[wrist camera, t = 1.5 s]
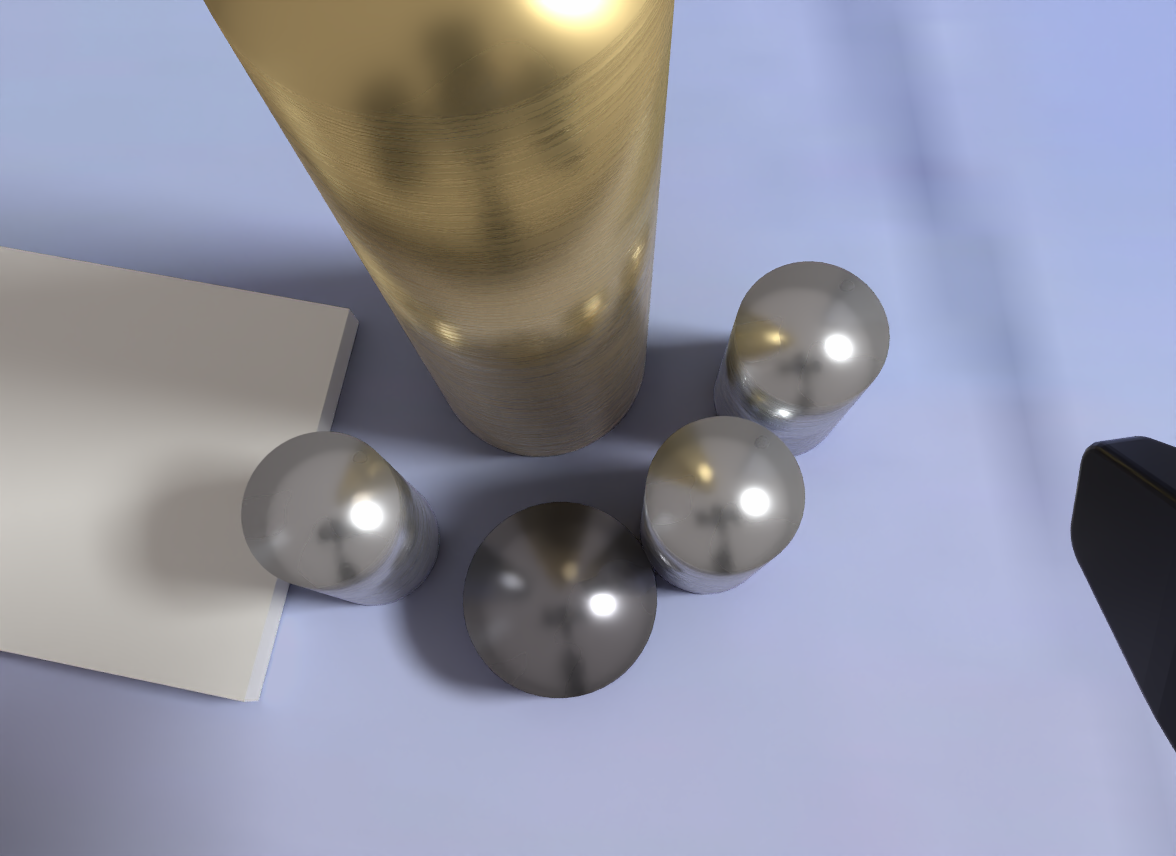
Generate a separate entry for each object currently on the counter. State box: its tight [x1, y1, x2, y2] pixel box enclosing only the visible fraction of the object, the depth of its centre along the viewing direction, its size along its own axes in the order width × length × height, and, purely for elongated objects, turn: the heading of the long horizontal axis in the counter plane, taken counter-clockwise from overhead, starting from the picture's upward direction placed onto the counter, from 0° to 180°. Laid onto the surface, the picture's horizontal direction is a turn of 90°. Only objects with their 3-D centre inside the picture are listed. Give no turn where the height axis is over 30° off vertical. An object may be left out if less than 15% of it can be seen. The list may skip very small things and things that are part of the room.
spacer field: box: [241, 261, 890, 698], centre depth 19 cm, size 8×10×4 cm
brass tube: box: [204, 0, 674, 457], centre depth 15 cm, size 4×4×13 cm
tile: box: [0, 246, 359, 702], centre depth 21 cm, size 8×8×1 cm
